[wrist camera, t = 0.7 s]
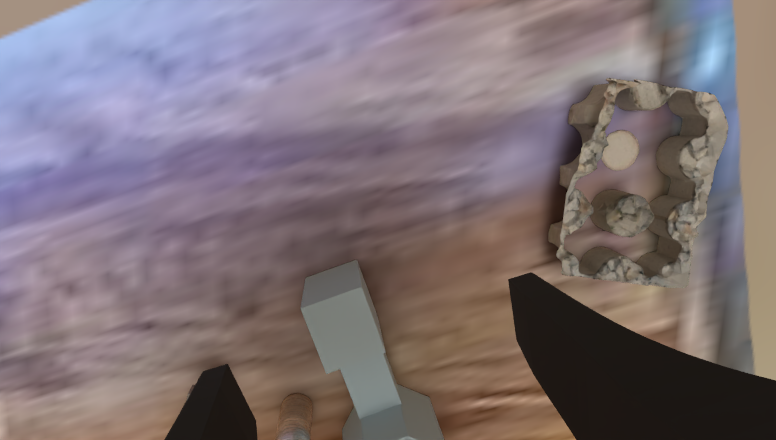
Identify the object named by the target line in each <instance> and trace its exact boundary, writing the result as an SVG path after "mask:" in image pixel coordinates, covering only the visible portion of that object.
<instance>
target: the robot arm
mask: <svg viewBox="0 0 776 440" xmlns="http://www.w3.org/2000/svg"><path fill="white" fill-rule="evenodd" d="M508 281H509V288H510V296H511V303H512V310H513V317H514V324H515V332H516V339H517V342H518V344H519V346H520V348H521V350H522V352H523V354H524V356H525V358H526V360H527V362H528V364H529V366H530V368H531V370H532V372H533V374H534V376H535V377H536V379H537V380H538V382H539V383H540V385H541V387H542V388H543V390H544V391H545V393H546V394H547V396H548V397H549V399H550V400H551V402H552V403H553V405H554V406H555V408H556V409H557V411H558V412H559V414H560V415H561V417H562V418H563V420H564V421H565V423H566V424H567V426H568V427H569V429H570V430H571V432H572V433H573V435H574V436H575V438H576V439H577V440H776V381H775V380H771V379H767V378H764V377H759V376H756V375H752V374H748V373H745V372H741V371H738V370H734V369H731V368H727V367H724V366H721V365H718V364H715V363H712V362H709V361H706V360H703V359H700V358H697V357H694V356H691V355H688V354H686V353H683V352H680V351H677V350H675V349H672V348H670V347H668V346H665V345H663V344H660V343H658V342H656V341H653V340H651V339H648V338H646V337H644V336H642V335H639V334H637V333H635V332H633V331H631V330H629V329H627V328H625V327H623V326H621V325H619V324H617V323H615V322H613V321H611V320H609V319H608V318H606V317H604V316H602V315H600V314H599V313H597V312H595V311H593V310H592V309H590V308H588V307H586V306H585V305H583V304H581V303H580V302H578V301H576V300H575V299H573V298H571V297H570V296H568V295H567V294H565V293H563V292H562V291H560V290H559V289H557V288H555V287H554V286H552V285H551V284H549V283H548V282H546V281H544V280H543V279H541V278H540V277H538V276H537V275H535V274H533V273H527V274H524V275H521V276H518V277H514V278H511V279H508ZM165 440H257V427H256V420H255V418H254V416H253V414H252V412H251V410H250V408H249V406H248V404H247V402H246V400H245V398H244V396H243V394H242V392H241V390H240V388H239V386H238V384H237V382H236V380H235V378H234V376H233V374H232V372H231V370H230V368H229V366H228V364H226V365H223V366H219V367H216V368H213V369H209V370H206V371H203V373H202V374H201V376H200V378H199V379H198V381H197V383H196V385H195V386H194V388H193V390H192V392H191V394H190V396H189V397H188V399H187V401H186V403H185V405H184V406H183V408H182V410H181V412H180V414H179V415H178V417H177V419H176V421H175V423H174V424H173V426H172V428H171V429H170V431H169V433H168V435H167V436H166V438H165Z"/></svg>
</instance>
